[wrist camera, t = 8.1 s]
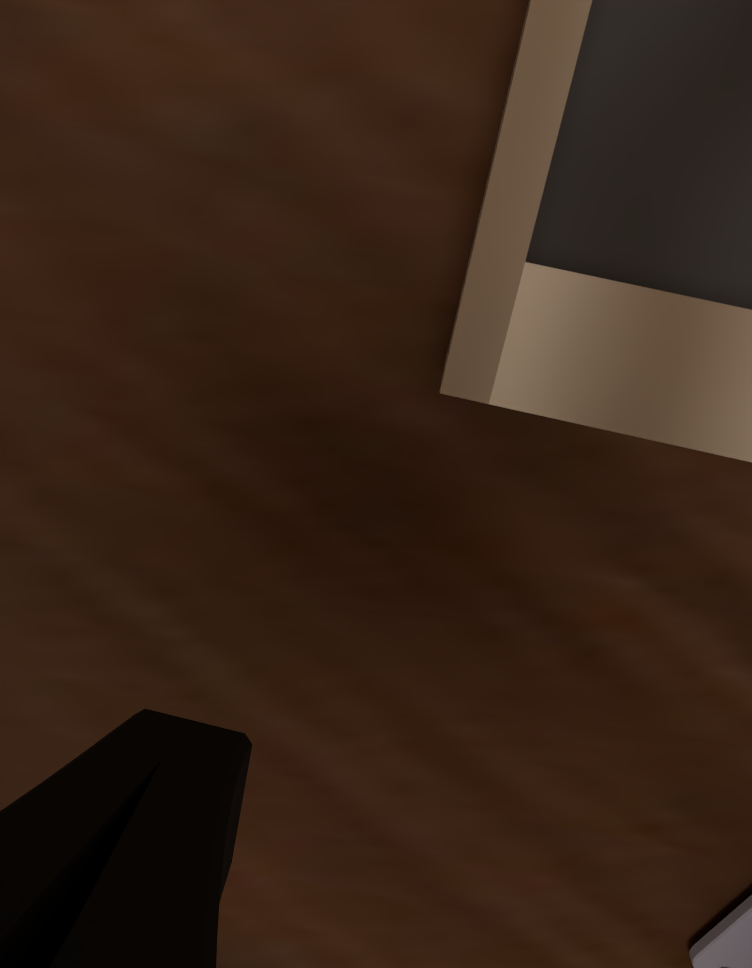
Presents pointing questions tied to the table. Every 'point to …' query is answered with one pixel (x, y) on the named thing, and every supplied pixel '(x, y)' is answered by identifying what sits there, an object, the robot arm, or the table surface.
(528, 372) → the trap deck
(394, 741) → the table surface
